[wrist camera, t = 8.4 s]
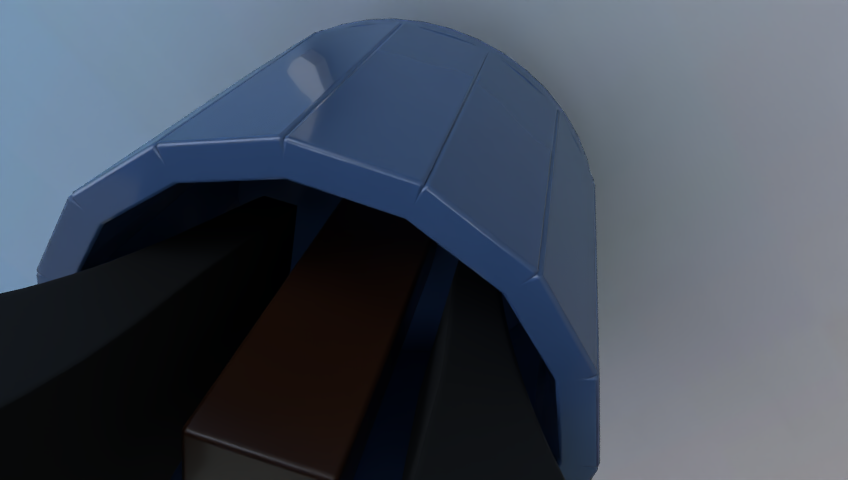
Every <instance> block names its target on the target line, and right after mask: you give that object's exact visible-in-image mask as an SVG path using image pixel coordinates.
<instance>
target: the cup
mask: <svg viewBox="0 0 848 480" xmlns="http://www.w3.org/2000/svg"><path fill="white" fill-rule="evenodd" d="M262 196H267V197H270V198H274V199H277V200H280V201H284V202H287V203H290V204H294V205H297V215H296V224H295V233H294V242H293V251H292V260H291V269H290V273H291V271H292V270H293V269H294V267H295V266H296V264H297V263H298V261H299V260H300V258H301V257H302V256H303V254H304V253H305V251H306V250H307V248H308V247H309V246H310V244H311V243H312V241H313V240H314V238H315V237H316V235H317V234H318V233H319V231H320V230H321V228H322V227H323V225H324V224H325V223H326V221H327V220H328V218H329V217H330V215H331V214H332V213H333V211H334V210H335V208H336V207H337V205H338V204H339V202H340V201H341V200H342V198H344V199H347V200H350V201H353V202H356V203H359V204H362V205H365V206H368V207H371V208H374V209H377V210H380V211H383V212H386V213H389V214H392V215H395V216H398V217H401V218H404V219H406V220H407V221H409V222H410V223H411V224H413V225H414V226H415V227H416V228H418V229H419V230H420V231H422V232H423V233H424V234H426V235H427V236H428V237H430V238H431V239H432V240H433V241H435V242H436V243H437V248H436V251H435V255H434V259H433V263H432V266H431V270H430V273H429V275H428V278H427V281H426V283H425V286H424V289H423V291H422V294H421V297H420V300H419V302H418V305H417V308H416V310H415V313H414V316H413V318H412V321H411V324H410V327H409V329H408V332H407V335H406V337H405V340H404V343H403V346H402V348H401V351H400V354H399V356H398V359H397V362H396V364H395V367H394V370H393V373H392V375H391V378H390V381H389V383H388V386H387V389H386V391H385V394H384V397H383V400H382V402H381V405H380V408H379V410H378V413H377V416H376V419H375V421H374V424H373V427H372V429H371V432H370V435H369V437H368V440H367V443H366V446H365V448H364V451H363V454H362V456H361V459H360V462H359V464H358V467H357V470H356V473H355V475H354V478H353V480H402V476H403V471H404V466H405V461H406V456H407V451H408V446H409V440H410V435H411V430H412V425H413V420H414V415H415V410H416V405H417V400H418V395H419V391H420V388H421V384H422V381H423V378H424V374H425V371H426V367H427V364H428V361H429V357H430V354H431V351H432V347H433V344H434V341H435V337H436V334H437V331H438V327H439V324H440V320H441V317H442V314H443V310H444V307H445V304H446V300H447V297H448V294H449V290H450V287H451V284H452V280H453V277H454V274H455V271H456V267H457V264H458V261H459V260H460V261H461V262H462V263H463V264H465V265H466V266H467V267H469V268H470V269H471V270H473V271H474V272H475V273H477V274H478V275H479V276H480V277H482V278H483V279H484V280H486V281H487V282H488V283H490V284H491V285H492V286H494V287H495V288H496V289H497V290H499V291H500V292H501V294H502V301H503V306H504V312H505V317H506V322H507V326H508V330H509V334H510V338H511V341H512V345H513V349H514V352H515V356H516V360H517V363H518V366H519V370H520V373H521V376H522V379H523V382H524V385H525V387H526V390H527V393H528V396H529V399H530V402H531V404H532V407H533V409H534V412H535V415H536V417H537V420H538V422H539V424H540V427H541V429H542V432H543V434H544V436H545V438H546V441H547V443H548V445H549V447H550V449H551V452H552V454H553V456H554V458H555V460H556V462H557V464H558V466H559V468H560V470H561V472H562V474H563V476H564V478H565V480H591V479H592V478H593V476H594V475H595V473H596V472H597V470H598V466H599V464H600V372H599V328H598V284H597V240H596V197H595V184H594V179H593V177H592V175H591V172H590V168H589V164H588V159H587V157H586V154H585V152H584V149H583V147H582V144H581V142H580V139H579V137H578V135H577V133H576V131H575V130H574V128H573V126H572V124H571V123H570V121H569V119H568V117H567V116H566V114H565V112H564V111H563V110H562V108H561V107H560V106H559V105H558V103H557V102H556V101H555V99H554V98H553V97H552V96H551V94H550V93H549V92H548V90H546V89H545V88H544V87H543V86H542V85H541V84H540V83H539V82H538V81H537V80H536V79H535V78H534V77H533V76H532V75H531V74H530V73H529V72H528V71H527V70H526V69H524V68H523V67H522V66H520V65H519V64H518V63H516V62H515V61H513V60H512V59H511V58H509V57H508V56H507V55H505V54H504V53H502V52H501V51H499V50H497V49H495V48H493V47H491V46H490V45H488V44H486V43H484V42H482V41H481V40H479V39H477V38H474V37H471V36H469V35H466V34H464V33H461V32H459V31H456V30H454V29H451V28H447V27H443V26H439V25H435V24H431V23H427V22H422V21H412V20H403V19H372V20H363V21H357V22H352V23H346V24H341V25H338V26H335V27H332V28H329V29H326V30H321V31H319V32H315V33H313V34H311V35H310V36H308V37H307V38H305V39H303V40H302V41H300V42H298V43H296V44H295V45H293V46H292V47H290V48H289V49H287V50H286V51H284V52H283V53H281V54H279V55H278V56H276V57H275V58H273V59H271V60H270V61H268V62H267V63H265V64H263V65H262V66H260V67H259V68H257V69H255V70H254V71H252V72H251V73H249V74H248V75H246V76H245V77H243V78H242V79H241V80H239V81H238V82H236V83H235V84H233V85H232V86H230V87H229V88H227V89H226V90H224V91H223V92H221V93H220V94H218V95H217V96H215V97H214V98H212V99H211V100H209V101H208V102H206V103H205V104H203V105H202V106H200V107H199V108H197V109H196V110H194V111H193V112H191V113H190V114H188V115H187V116H185V117H184V118H182V119H181V120H179V121H178V122H176V123H175V124H173V125H172V126H170V127H169V128H168V129H166V130H165V131H163V132H162V133H160V134H159V135H157V136H156V137H154V138H153V139H151V140H150V141H148V142H147V143H145V144H144V145H142V146H141V147H139V148H138V149H136V150H135V151H133V152H132V153H130V154H129V155H127V156H126V157H124V158H123V159H121V160H120V161H118V162H117V163H115V164H114V165H112V166H111V167H109V168H108V169H106V170H105V171H103V172H102V173H100V174H99V175H97V176H96V177H95V178H93V179H92V180H90V181H89V182H87V183H86V184H84V185H83V186H81V187H80V188H78V189H77V190H75V191H74V192H73V194H72V195H71V196H69V197H68V199H67V202H66V204H65V206H64V208H63V211H62V213H61V215H60V218H59V220H58V222H57V224H56V227H55V229H54V231H53V234H52V236H51V238H50V241H49V243H48V245H47V247H46V250H45V252H44V254H43V257H42V259H41V261H40V263H39V266H38V268H37V272H38V273H37V283H38V284H41V283H44V282H47V281H51V280H54V279H57V278H61V277H64V276H68V275H71V274H74V273H77V272H80V271H83V270H86V269H89V268H93V267H95V266H98V265H101V264H104V263H107V262H110V261H112V260H115V259H117V258H120V257H122V256H125V255H127V254H130V253H133V252H135V251H138V250H140V249H143V248H145V247H148V246H151V245H153V244H156V243H158V242H161V241H163V240H166V239H168V238H170V237H173V236H175V235H177V234H179V233H182V232H184V231H186V230H188V229H191V228H193V227H195V226H197V225H200V224H202V223H204V222H206V221H209V220H211V219H213V218H215V217H217V216H219V215H222V214H224V213H226V212H228V211H230V210H232V209H235V208H237V207H239V206H241V205H243V204H245V203H248V202H250V201H252V200H254V199H257V198H259V197H262ZM170 480H182V460H181V462H180V463H179V465H178V467H177V468H176V470H175V472H174V473H173V475H172V477H171V479H170Z"/></svg>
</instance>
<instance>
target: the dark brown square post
mask: <svg viewBox="0 0 848 480" xmlns="http://www.w3.org/2000/svg"><path fill="white" fill-rule="evenodd" d="M436 248H437V243H436V242H435V241H433V240H432V239H431V238H430V237H428V236H427V235H426V234H424V233H423V232H422V231H420V230H419V229H418V228H416V227H415V226H414V225H413V224H411V223H410V222H409V221H407V220H406V219H404V218H401V217H398V216H395V215H392V214H389V213H386V212H383V211H380V210H377V209H374V208H371V207H368V206H365V205H362V204H359V203H356V202H353V201H350V200H347V199H344V198H342V200H341V201H340V202H339V204H338V205H337V207H336V208H335V210H334V211H333V213H332V214H331V215H330V217H329V218H328V220H327V221H326V223H325V224H324V225H323V227H322V228H321V230H320V231H319V233H318V234H317V235H316V237H315V238H314V240H313V241H312V243H311V244H310V246H309V247H308V248H307V250H306V251H305V253H304V254H303V256H302V257H301V258H300V260H299V261H298V263H297V264H296V266H295V267H294V269H293V270H292V271H291V273H290V274H289V276H288V277H287V279H286V280H285V281H284V283H283V284H282V286H281V287H280V289H279V290H278V292H277V293H276V294H275V296H274V297H273V299H272V300H271V302H270V303H269V304H268V306H267V307H266V309H265V310H264V312H263V313H262V314H261V316H260V317H259V319H258V320H257V322H256V323H255V325H254V326H253V327H252V329H251V330H250V332H249V333H248V335H247V336H246V337H245V339H244V340H243V342H242V343H241V345H240V346H239V348H238V349H237V350H236V352H235V353H234V355H233V356H232V358H231V359H230V360H229V362H228V363H227V365H226V366H225V368H224V369H223V371H222V372H221V373H220V375H219V376H218V378H217V379H216V381H215V382H214V383H213V385H212V386H211V388H210V389H209V391H208V392H207V394H206V395H205V396H204V398H203V399H202V401H201V402H200V404H199V405H198V406H197V408H196V409H195V411H194V412H193V414H192V415H191V416H190V418H189V419H188V421H187V422H186V424H185V425H184V427H183V428H182V432H181V449H182V480H353V478H354V475H355V473H356V470H357V467H358V464H359V462H360V459H361V456H362V454H363V451H364V448H365V446H366V443H367V440H368V437H369V435H370V432H371V429H372V427H373V424H374V421H375V419H376V416H377V413H378V410H379V408H380V405H381V402H382V400H383V397H384V394H385V391H386V389H387V386H388V383H389V381H390V378H391V375H392V373H393V370H394V367H395V364H396V362H397V359H398V356H399V354H400V351H401V348H402V346H403V343H404V340H405V337H406V335H407V332H408V329H409V327H410V324H411V321H412V318H413V316H414V313H415V310H416V308H417V305H418V302H419V300H420V297H421V294H422V291H423V289H424V286H425V283H426V281H427V278H428V275H429V273H430V270H431V266H432V263H433V259H434V255H435V251H436Z"/></svg>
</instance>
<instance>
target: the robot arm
mask: <svg viewBox="0 0 848 480" xmlns="http://www.w3.org/2000/svg"><path fill="white" fill-rule="evenodd" d="M296 215H297V205H294V204H290V203H287V202H284V201H280V200H277V199H274V198H270V197H267V196H262V197H259V198H257V199H254V200H252V201H250V202H248V203H245V204H243V205H241V206H239V207H237V208H235V209H232V210H230V211H228V212H226V213H224V214H222V215H219V216H217V217H215V218H213V219H211V220H209V221H206V222H204V223H202V224H200V225H197V226H195V227H193V228H191V229H188V230H186V231H184V232H182V233H179V234H177V235H175V236H173V237H170V238H168V239H166V240H163V241H161V242H158V243H156V244H153V245H151V246H148V247H145V248H143V249H140V250H138V251H135V252H133V253H130V254H127V255H125V256H122V257H120V258H117V259H115V260H112V261H110V262H107V263H104V264H101V265H98V266H95V267H93V268H89V269H86V270H83V271H80V272H77V273H74V274H71V275H68V276H64V277H61V278H57V279H54V280H51V281H47V282H44V283H41V284H37V285H34V286H30V287H26V288H23V289H18V290H14V291H10V292H6V293H1V294H0V480H170V479H171V477H172V475H173V473H174V472H175V470H176V468H177V467H178V465H179V463H180V462H181V460H182V449H181V432H182V428H183V427H184V425H185V424H186V422H187V421H188V419H189V418H190V416H191V415H192V414H193V412H194V411H195V409H196V408H197V406H198V405H199V404H200V402H201V401H202V399H203V398H204V396H205V395H206V394H207V392H208V391H209V389H210V388H211V386H212V385H213V383H214V382H215V381H216V379H217V378H218V376H219V375H220V373H221V372H222V371H223V369H224V368H225V366H226V365H227V363H228V362H229V360H230V359H231V358H232V356H233V355H234V353H235V352H236V350H237V349H238V348H239V346H240V345H241V343H242V342H243V340H244V339H245V337H246V336H247V335H248V333H249V332H250V330H251V329H252V327H253V326H254V325H255V323H256V322H257V320H258V319H259V317H260V316H261V314H262V313H263V312H264V310H265V309H266V307H267V306H268V304H269V303H270V302H271V300H272V299H273V297H274V296H275V294H276V293H277V292H278V290H279V289H280V287H281V286H282V284H283V283H284V281H285V280H286V279H287V277H288V276H289V274H290V269H291V260H292V251H293V242H294V233H295V224H296ZM402 480H565V478H564V476H563V474H562V472H561V470H560V468H559V466H558V464H557V462H556V460H555V458H554V456H553V454H552V452H551V449H550V447H549V445H548V443H547V441H546V438H545V436H544V434H543V432H542V429H541V427H540V424H539V422H538V420H537V417H536V415H535V412H534V409H533V407H532V404H531V402H530V399H529V396H528V393H527V390H526V387H525V385H524V382H523V379H522V376H521V373H520V370H519V366H518V363H517V360H516V356H515V352H514V349H513V345H512V341H511V338H510V334H509V330H508V326H507V322H506V317H505V312H504V306H503V301H502V294H501V292H500V291H499V290H497V289H496V288H495V287H494V286H492V285H491V284H490V283H488V282H487V281H486V280H484V279H483V278H482V277H480V276H479V275H478V274H477V273H475V272H474V271H473V270H471V269H470V268H469V267H467V266H466V265H465V264H463V263H462V262H461V261H460V260H459V261H458V264H457V267H456V271H455V274H454V277H453V280H452V284H451V287H450V290H449V294H448V297H447V300H446V304H445V307H444V310H443V314H442V317H441V320H440V324H439V327H438V331H437V334H436V337H435V341H434V344H433V347H432V351H431V354H430V357H429V361H428V364H427V367H426V371H425V374H424V378H423V381H422V384H421V388H420V391H419V395H418V400H417V405H416V410H415V415H414V420H413V425H412V430H411V435H410V440H409V446H408V451H407V456H406V461H405V466H404V471H403V476H402Z"/></svg>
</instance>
